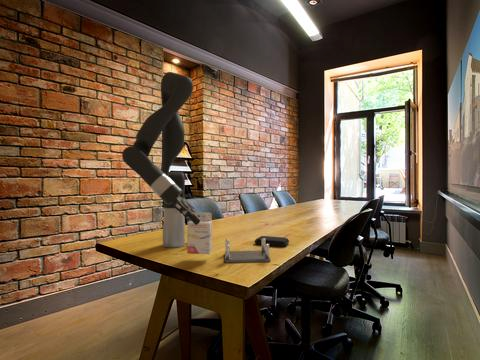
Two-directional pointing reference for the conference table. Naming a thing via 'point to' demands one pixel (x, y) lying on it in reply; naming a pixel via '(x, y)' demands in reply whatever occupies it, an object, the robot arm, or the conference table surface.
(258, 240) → the carrying case or bag
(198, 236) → the ink cartridge box
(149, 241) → the conference table surface
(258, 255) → the standoff plate
